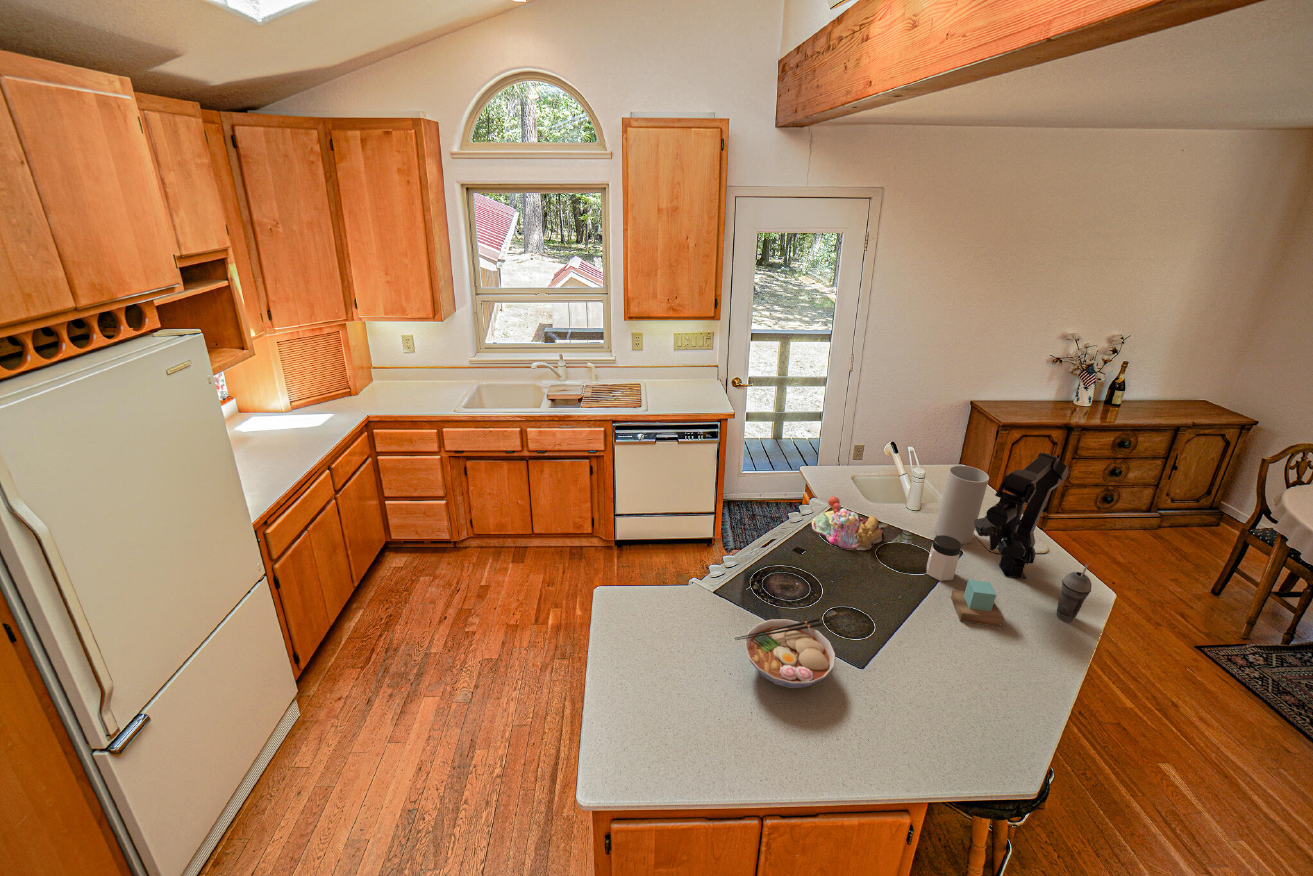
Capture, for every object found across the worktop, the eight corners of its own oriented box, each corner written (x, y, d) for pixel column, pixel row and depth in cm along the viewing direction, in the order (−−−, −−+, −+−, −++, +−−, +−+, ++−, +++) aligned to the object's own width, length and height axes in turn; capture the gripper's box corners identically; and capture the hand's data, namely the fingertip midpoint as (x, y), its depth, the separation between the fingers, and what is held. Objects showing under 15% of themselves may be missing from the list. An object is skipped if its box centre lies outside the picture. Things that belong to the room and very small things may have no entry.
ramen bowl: (759, 714, 150) (763, 689, 147) (725, 648, 170) (727, 624, 167) (852, 695, 157) (857, 670, 153) (808, 633, 177) (812, 610, 173)
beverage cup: (1071, 610, 189) (1092, 554, 181) (1083, 626, 183) (1106, 569, 175) (1046, 608, 190) (1065, 552, 182) (1057, 624, 183) (1078, 567, 175)
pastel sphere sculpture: (889, 528, 229) (894, 506, 226) (872, 559, 211) (876, 536, 207) (822, 508, 241) (826, 487, 237) (800, 536, 223) (804, 513, 219)
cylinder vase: (926, 528, 229) (941, 467, 219) (954, 524, 233) (970, 463, 223) (950, 547, 218) (967, 484, 208) (979, 542, 222) (997, 479, 212)
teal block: (963, 595, 189) (968, 579, 187) (984, 598, 189) (989, 582, 186) (969, 608, 184) (974, 592, 182) (991, 611, 183) (996, 594, 181)
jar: (925, 562, 210) (933, 532, 205) (952, 568, 207) (960, 537, 202) (926, 578, 202) (934, 546, 197) (953, 584, 200) (962, 552, 195)
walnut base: (950, 597, 193) (952, 589, 192) (988, 602, 192) (991, 594, 190) (960, 621, 183) (962, 613, 182) (1000, 626, 182) (1002, 618, 181)
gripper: (971, 495, 193) (960, 538, 200) (990, 527, 177) (977, 573, 183) (1010, 499, 192) (997, 543, 198) (1033, 532, 175) (1018, 578, 181)
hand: (996, 558), depth 190 cm, fingers open, 9 cm apart
